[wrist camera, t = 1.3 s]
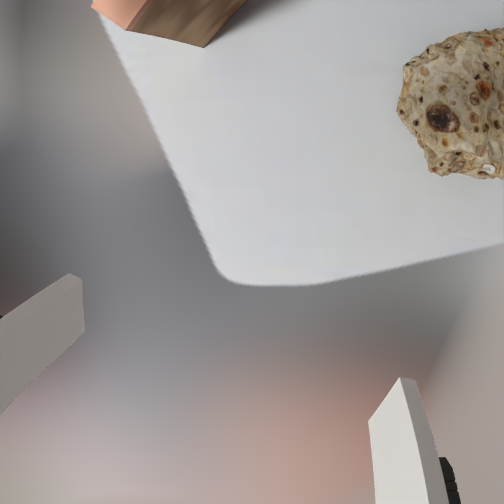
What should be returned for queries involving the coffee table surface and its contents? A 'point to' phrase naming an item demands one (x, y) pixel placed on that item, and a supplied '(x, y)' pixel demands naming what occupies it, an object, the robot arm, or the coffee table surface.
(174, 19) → the light brown wooden block
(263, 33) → the coffee table surface
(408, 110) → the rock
